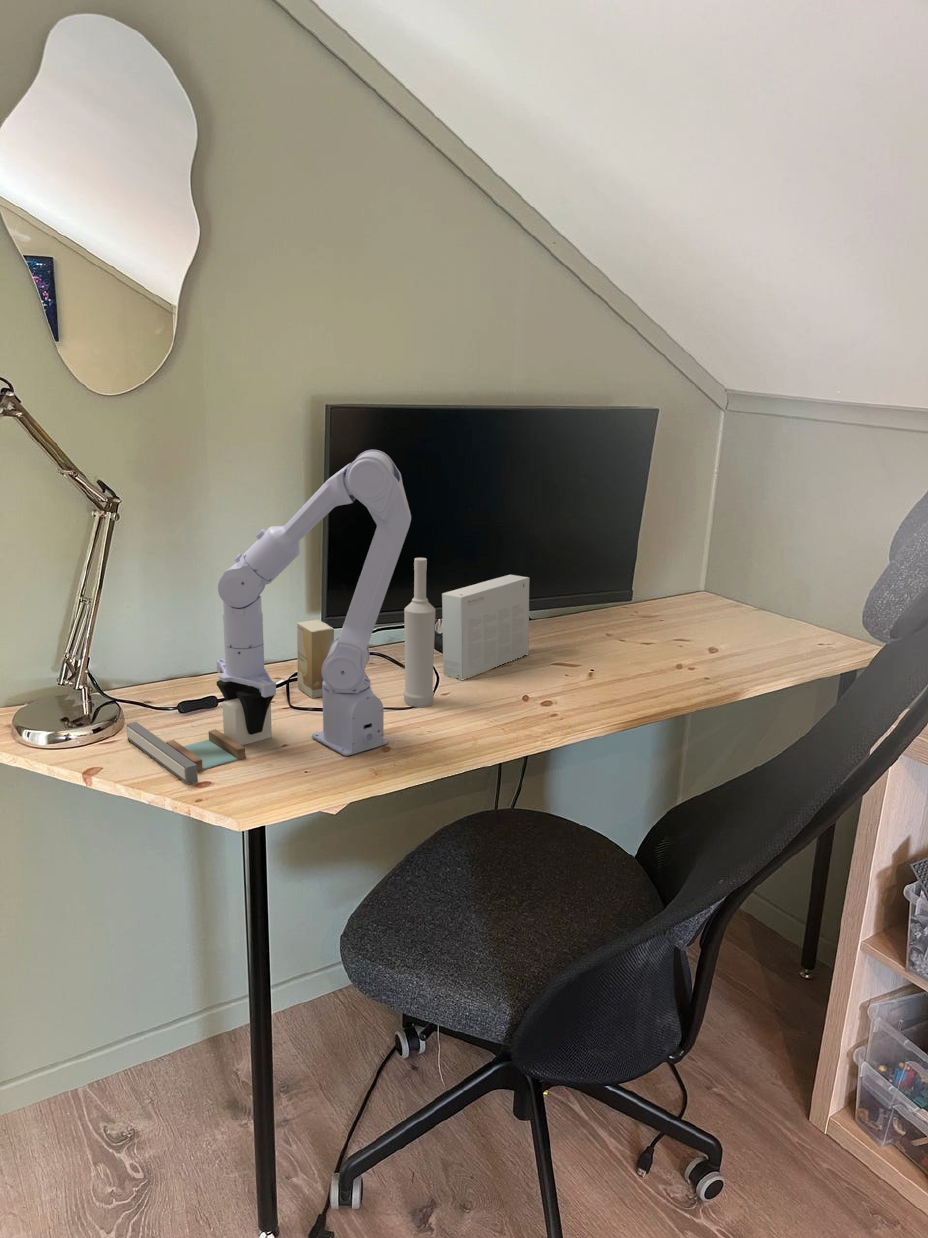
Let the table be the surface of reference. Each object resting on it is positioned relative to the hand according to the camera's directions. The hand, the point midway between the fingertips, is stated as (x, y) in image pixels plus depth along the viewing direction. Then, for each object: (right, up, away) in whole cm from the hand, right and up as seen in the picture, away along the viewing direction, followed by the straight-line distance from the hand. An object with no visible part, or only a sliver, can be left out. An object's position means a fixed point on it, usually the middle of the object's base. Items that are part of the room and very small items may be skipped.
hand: (247, 728), depth 148 cm
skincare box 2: (+37, +8, +38) cm, 54 cm away
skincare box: (+7, +4, +21) cm, 22 cm away
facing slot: (-5, -3, -6) cm, 8 cm away
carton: (0, -2, 0) cm, 2 cm away
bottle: (+25, +2, +17) cm, 31 cm away
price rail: (-11, -4, -8) cm, 14 cm away
